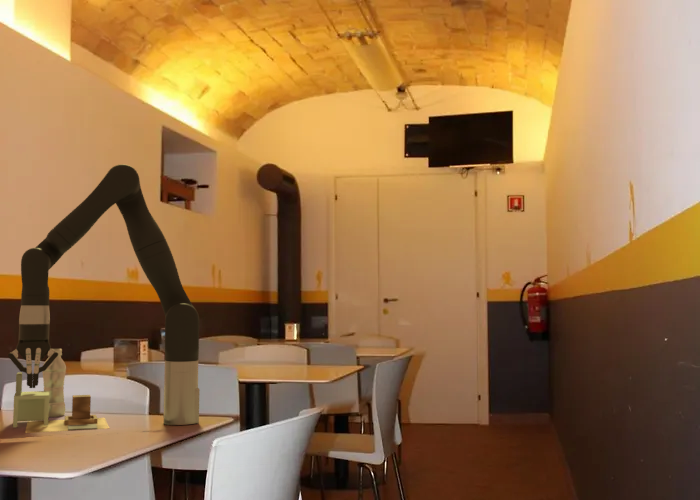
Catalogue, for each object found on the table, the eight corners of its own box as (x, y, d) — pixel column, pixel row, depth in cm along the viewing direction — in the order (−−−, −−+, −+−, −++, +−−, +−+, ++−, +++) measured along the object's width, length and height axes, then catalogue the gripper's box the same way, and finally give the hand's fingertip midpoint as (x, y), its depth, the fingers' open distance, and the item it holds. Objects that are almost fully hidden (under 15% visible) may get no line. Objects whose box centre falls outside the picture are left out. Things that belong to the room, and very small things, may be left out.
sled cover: (48, 419, 206) (49, 371, 207) (48, 425, 196) (49, 374, 197) (14, 421, 203) (16, 372, 204) (12, 427, 193) (14, 375, 194)
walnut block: (89, 420, 207) (89, 394, 208) (89, 422, 203) (90, 396, 203) (71, 421, 205) (72, 395, 206) (72, 423, 201) (73, 397, 202)
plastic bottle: (70, 418, 217) (72, 348, 219) (49, 421, 212) (51, 350, 213) (55, 416, 221) (58, 348, 222) (35, 419, 215) (37, 349, 217)
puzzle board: (104, 421, 212) (104, 413, 212) (109, 432, 193) (109, 423, 194) (27, 425, 205) (27, 417, 205) (25, 436, 186) (25, 427, 186)
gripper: (60, 322, 208) (58, 385, 206) (8, 322, 203) (5, 387, 201) (61, 322, 201) (59, 388, 199) (6, 323, 196) (4, 390, 194)
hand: (32, 387), depth 200 cm, fingers closed
